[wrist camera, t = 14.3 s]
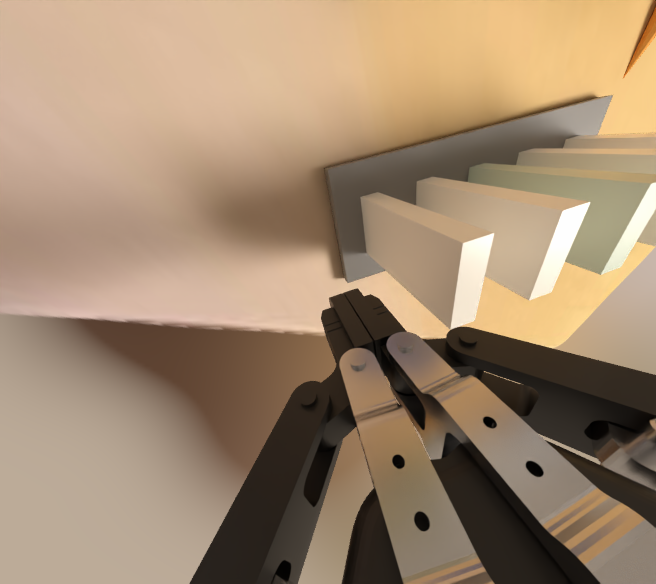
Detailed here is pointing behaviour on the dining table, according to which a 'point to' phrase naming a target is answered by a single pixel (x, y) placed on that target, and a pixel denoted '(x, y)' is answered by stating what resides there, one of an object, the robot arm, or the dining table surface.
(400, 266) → the domino
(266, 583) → the robot arm
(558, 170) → the pale green block
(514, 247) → the domino
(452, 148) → the board
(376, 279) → the dining table surface
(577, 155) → the domino
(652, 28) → the carrot
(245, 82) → the dining table surface
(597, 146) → the domino
